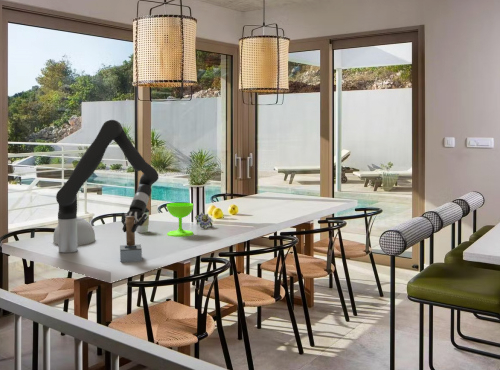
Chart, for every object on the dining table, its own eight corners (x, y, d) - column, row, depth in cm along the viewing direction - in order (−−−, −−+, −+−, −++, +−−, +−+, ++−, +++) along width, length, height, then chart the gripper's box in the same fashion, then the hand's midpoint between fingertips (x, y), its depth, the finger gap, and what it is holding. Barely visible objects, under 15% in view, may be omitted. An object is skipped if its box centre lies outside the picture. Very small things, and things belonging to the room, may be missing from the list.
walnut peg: (126, 246, 274) (125, 217, 272) (126, 244, 277) (125, 216, 276) (135, 245, 275) (134, 217, 273) (134, 243, 278) (134, 215, 277)
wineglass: (161, 234, 339) (160, 204, 337) (180, 230, 351) (179, 201, 349) (180, 237, 329) (180, 207, 327) (199, 233, 342) (199, 204, 340)
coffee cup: (148, 233, 343) (148, 208, 342) (133, 233, 343) (133, 208, 341) (150, 230, 352) (149, 206, 351) (135, 230, 352) (135, 206, 350)
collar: (120, 262, 271) (120, 249, 270) (120, 257, 280) (120, 245, 280) (141, 260, 273) (141, 248, 272) (140, 256, 283) (140, 244, 282)
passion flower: (205, 236, 359) (197, 223, 353) (196, 231, 368) (188, 217, 361) (218, 225, 363) (211, 212, 357) (209, 220, 372) (201, 207, 365)
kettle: (56, 237, 331) (54, 199, 328) (96, 235, 335) (95, 198, 333) (50, 246, 306) (49, 205, 304) (94, 244, 311) (93, 203, 309)
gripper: (124, 198, 283) (112, 226, 273) (149, 199, 279) (139, 227, 269) (129, 207, 288) (118, 235, 278) (154, 208, 284) (144, 236, 274)
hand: (128, 231), depth 273 cm, fingers closed on walnut peg, 4 cm apart
